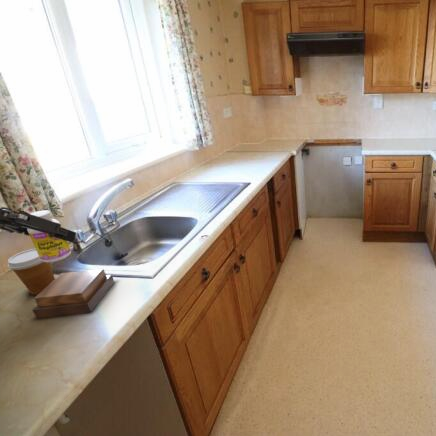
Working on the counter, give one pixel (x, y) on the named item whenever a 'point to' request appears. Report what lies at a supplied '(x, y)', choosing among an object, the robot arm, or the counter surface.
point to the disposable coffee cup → (32, 270)
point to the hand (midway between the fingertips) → (61, 236)
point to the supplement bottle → (48, 241)
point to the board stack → (73, 293)
